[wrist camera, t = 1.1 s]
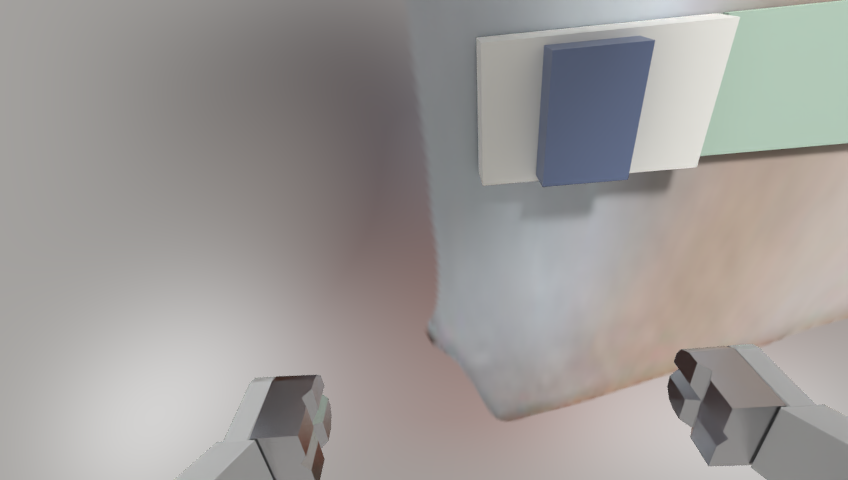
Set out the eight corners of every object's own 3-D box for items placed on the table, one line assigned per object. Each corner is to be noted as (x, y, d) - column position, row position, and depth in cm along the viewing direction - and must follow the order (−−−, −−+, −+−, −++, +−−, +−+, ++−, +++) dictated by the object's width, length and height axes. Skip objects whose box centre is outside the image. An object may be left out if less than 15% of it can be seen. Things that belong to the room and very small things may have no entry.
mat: (723, 12, 28) (729, 13, 27) (942, -10, 27) (952, -10, 27) (685, 154, 33) (689, 157, 33) (867, 138, 33) (874, 140, 32)
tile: (544, 45, 26) (552, 50, 25) (640, 35, 26) (655, 40, 24) (535, 175, 31) (542, 186, 30) (616, 168, 31) (627, 179, 29)
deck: (476, 37, 28) (480, 42, 26) (715, 13, 28) (740, 16, 26) (478, 172, 34) (482, 185, 32) (679, 154, 33) (696, 167, 31)
